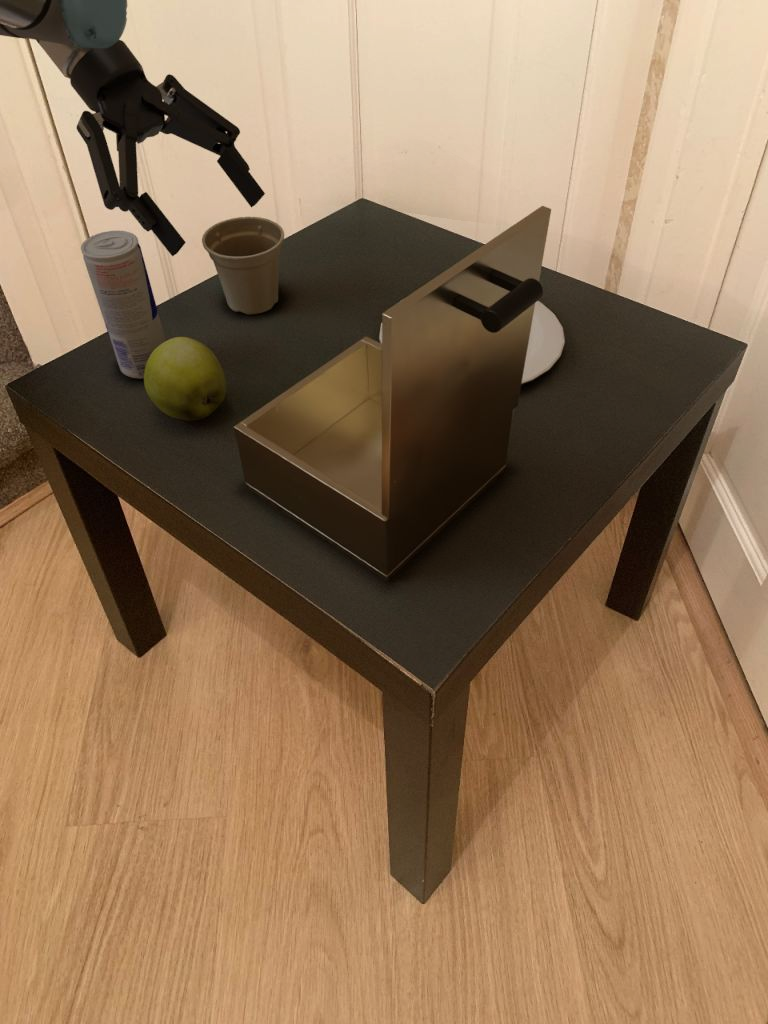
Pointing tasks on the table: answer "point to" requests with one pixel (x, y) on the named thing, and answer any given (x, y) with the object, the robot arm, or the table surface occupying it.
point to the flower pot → (246, 261)
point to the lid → (457, 357)
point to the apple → (184, 379)
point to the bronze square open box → (354, 464)
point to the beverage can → (124, 298)
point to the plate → (539, 343)
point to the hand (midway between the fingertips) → (220, 224)
